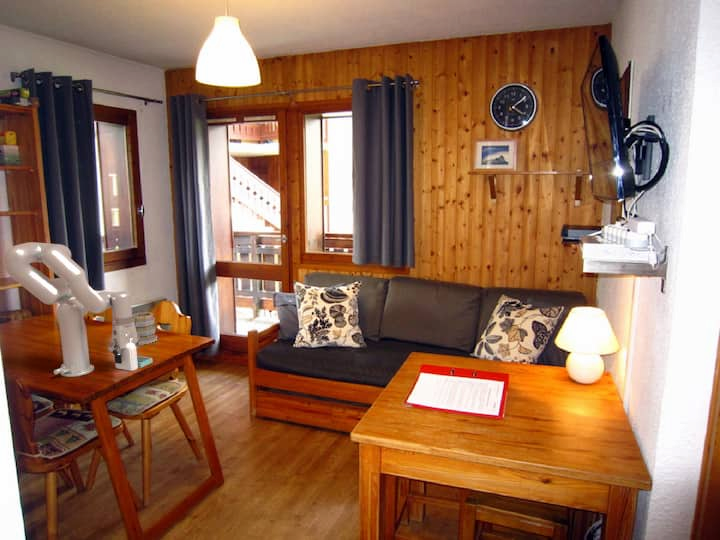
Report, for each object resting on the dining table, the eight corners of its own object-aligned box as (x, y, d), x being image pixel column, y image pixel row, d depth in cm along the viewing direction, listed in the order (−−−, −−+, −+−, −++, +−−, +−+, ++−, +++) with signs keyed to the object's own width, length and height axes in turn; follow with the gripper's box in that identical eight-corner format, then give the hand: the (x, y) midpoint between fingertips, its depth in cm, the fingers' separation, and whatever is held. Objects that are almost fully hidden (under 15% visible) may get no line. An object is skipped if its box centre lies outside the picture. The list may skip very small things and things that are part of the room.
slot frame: (141, 367, 223) (140, 363, 222) (117, 364, 227) (117, 359, 227) (152, 362, 229) (152, 358, 229) (129, 359, 233) (129, 354, 233)
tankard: (145, 336, 268) (143, 308, 266) (162, 339, 262) (160, 311, 260) (111, 347, 251) (109, 317, 249) (128, 350, 245) (126, 320, 243)
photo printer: (114, 368, 222) (111, 341, 220) (122, 365, 226) (120, 338, 223) (131, 372, 218) (129, 344, 215) (139, 368, 221) (137, 341, 219)
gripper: (113, 326, 209) (117, 367, 212) (144, 316, 225) (147, 354, 228) (99, 325, 211) (103, 365, 214) (131, 315, 227) (134, 352, 230)
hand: (126, 359), depth 221 cm, fingers open, 7 cm apart
